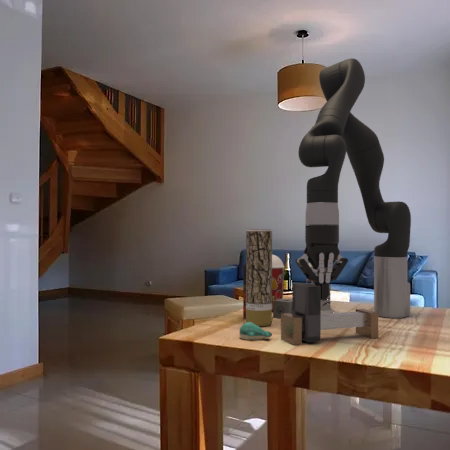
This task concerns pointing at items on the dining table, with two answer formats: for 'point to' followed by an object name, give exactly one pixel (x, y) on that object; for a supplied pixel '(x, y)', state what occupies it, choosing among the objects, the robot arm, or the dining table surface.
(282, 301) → the grey cube
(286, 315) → the grey bar with endplates
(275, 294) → the smoothie
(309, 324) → the collar
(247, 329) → the whale figurine
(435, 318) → the dining table surface
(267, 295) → the paper tube
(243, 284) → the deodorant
